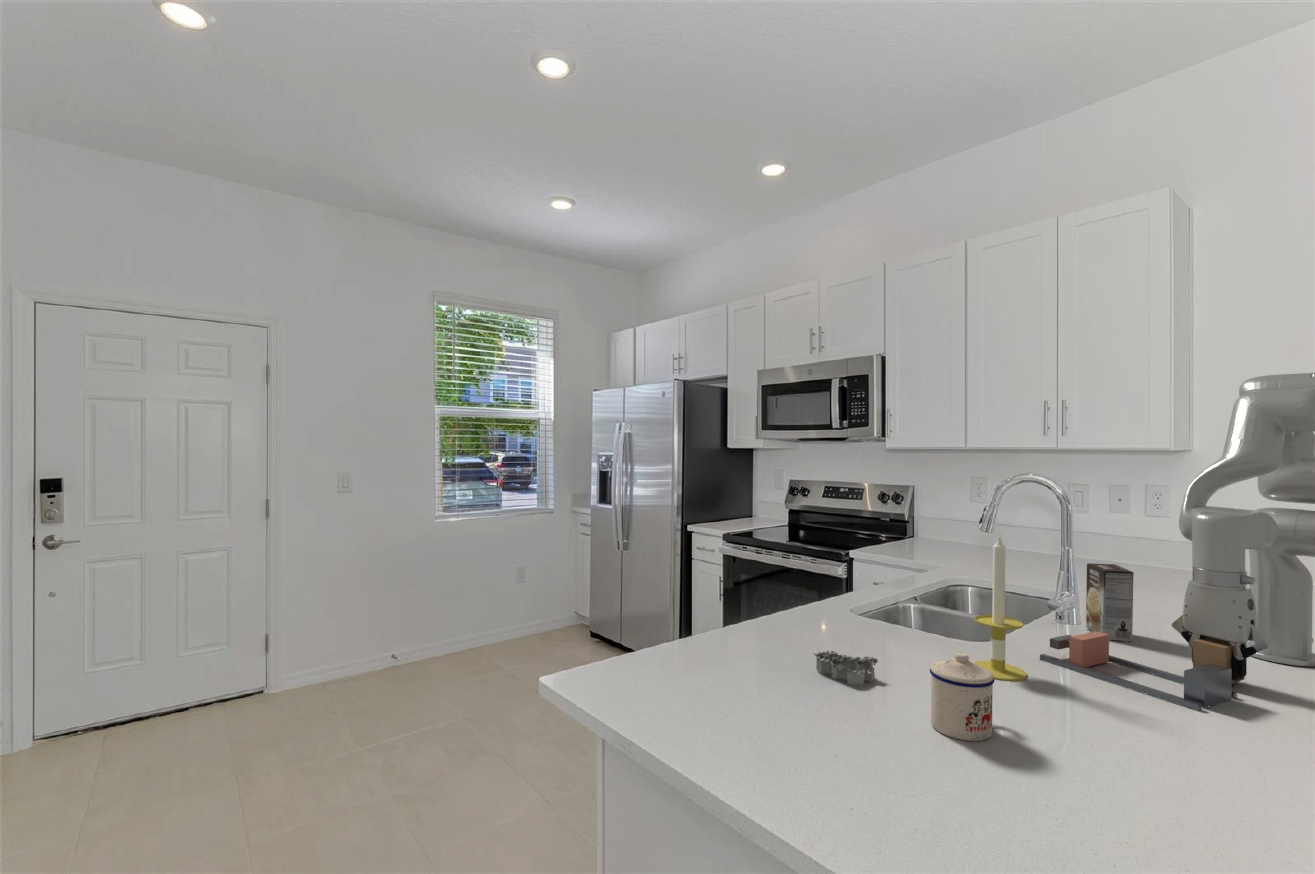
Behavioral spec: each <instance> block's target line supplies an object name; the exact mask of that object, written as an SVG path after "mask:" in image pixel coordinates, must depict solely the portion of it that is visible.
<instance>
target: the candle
mask: <svg viewBox="0 0 1315 874" xmlns="http://www.w3.org/2000/svg"><path fill="white" fill-rule="evenodd" d="M1005 598H1006V545H1004V544H1003V541H1002V537H1001V533H999V534H998V536H997V540H996V542H995V544H994V545H992V603H991V604H992V605H991V606H992V609H991V610H992V613H991V614H980V615H976V616H974V618H973V620H974V621H975V623H977V624H978V625H982V626H985V627H989V628H990V660H977V661H973V662H974V663H975V664H977V665H978V666H981V667H983V668H985V669H987V670H988V671H990V672H991V673H992V675H993V678H994V680H998V681H1006V682H1021V681H1023V680H1026V679H1027V677H1028V674H1027V672H1026V671H1025V670H1024V669H1022V668H1019V667H1018V666H1015V665H1012V664H1010V663H1006V630H1019V629H1022V628H1023V627H1024V623H1023V622H1022V621H1020V620H1018V619H1016V618H1015V619H1014V618H1011V617H1007V616H1005V615H1006V614H1005V613H1006V611H1005V610H1006V609H1005V608H1006V607H1005V606H1006V603H1005V602H1006V599H1005Z"/></svg>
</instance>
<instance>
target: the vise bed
mask: <svg viewBox="0 0 1315 874" xmlns="http://www.w3.org/2000/svg"><path fill="white" fill-rule="evenodd" d="M1039 660H1041V661H1043V660H1044V662H1046V661H1047V662H1046V663H1049V662H1050V663H1049V664H1053V665H1055V666H1058V665H1060V667H1061V666H1062V668H1064V667H1065V668H1064V669H1068V670H1071V671H1074V670H1075V672H1077V673H1080V674H1082V675H1083V674H1084V675H1086V674H1088V675H1087V676H1089V675H1090V676H1089V677H1093V678H1094V679H1095V678H1096V679H1099V680H1101V679H1102V681H1104V682H1105V681H1106V682H1108V683H1111V684H1114V683H1115V684H1114V685H1117V684H1118V685H1117V686H1120V685H1121V686H1120V687H1123V686H1124V687H1123V688H1126V689H1129V688H1131V689H1130V690H1132V689H1134V690H1133V691H1135V690H1137V691H1136V692H1138V691H1140V692H1139V693H1141V692H1143V693H1142V694H1144V693H1147V694H1150V695H1152V696H1151V697H1153V696H1155V697H1154V698H1156V697H1160V698H1162V699H1161V700H1163V699H1165V700H1164V701H1166V700H1167V701H1166V702H1169V703H1172V702H1174V703H1173V704H1175V703H1176V705H1178V704H1180V705H1179V706H1181V705H1182V707H1184V706H1186V707H1185V708H1187V707H1189V708H1188V709H1190V708H1191V710H1193V709H1194V710H1193V711H1196V712H1200V711H1202V710H1203V708H1206V707H1208V706H1212V707H1214V706H1213V705H1215V706H1217V705H1216V704H1218V705H1220V704H1219V703H1221V704H1223V703H1222V702H1224V703H1226V701H1227V702H1229V700H1230V701H1232V700H1236V699H1238V692H1236V691H1235V690H1234V691H1233V690H1232V684H1231V682H1232V669H1231V668H1227V667H1223V666H1219V665H1216V664H1212V663H1210V664H1206V665H1203V666H1199V667H1195V668H1193V667H1191V668H1189V669H1185V670H1183V676H1182V675H1178V674H1176V673H1171V672H1168V671H1164V670H1162V669H1157V668H1155V667H1151V666H1147V665H1144V664H1141V663H1137V662H1134V661H1131V660H1127V659H1123V658H1121V657H1117V656H1113V655H1110V654H1109V662H1108V663H1111V662H1112V664H1115V665H1117V666H1118V665H1119V666H1121V665H1124V666H1123V667H1125V666H1126V667H1125V668H1128V667H1129V668H1128V669H1131V668H1132V669H1131V670H1135V671H1138V670H1140V671H1139V672H1141V671H1143V672H1142V673H1145V672H1146V673H1145V674H1149V675H1151V674H1154V675H1153V676H1155V675H1156V676H1155V677H1158V676H1159V678H1161V677H1162V678H1163V679H1165V680H1168V679H1171V680H1174V681H1173V682H1175V681H1177V682H1176V683H1178V682H1180V683H1179V684H1181V683H1184V684H1183V697H1181V696H1179V695H1175V694H1171V693H1168V692H1165V691H1162V690H1159V689H1155V688H1153V687H1150V686H1147V685H1144V684H1140V683H1137V682H1133V681H1130V680H1127V679H1124V678H1121V677H1117V676H1115V675H1111V674H1110V673H1109V674H1108V673H1105V672H1101V671H1099V670H1097V669H1093V668H1090V667H1084V666H1080V665H1077V664H1074V663H1071V662H1069V661H1067V660H1065V659H1061V658H1057V657H1056V656H1052V655H1048V654H1046V653H1041V654H1039ZM1171 680H1170V681H1171ZM1147 694H1146V695H1147ZM1150 695H1149V696H1150ZM1160 698H1159V699H1160ZM1232 698H1233V699H1232ZM1235 698H1236V699H1235ZM1202 707H1203V708H1202ZM1206 709H1207V708H1206ZM1199 710H1200V711H1199Z"/></svg>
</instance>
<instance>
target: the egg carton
mask: <svg viewBox="0 0 1315 874" xmlns="http://www.w3.org/2000/svg"><path fill="white" fill-rule="evenodd" d="M812 654H813V655H814V656H815V657H816V671H817V673H818V674H820V675H821V674H828V675H831V678H832V679H835V680H845V681H846V684H847V685H850V686H852V685H859V686H863V685H865V681H869V682H874V681H875V674H876V673H875V668H874V666H875V665H877V663H879V662H878V661H879V660H878V658H874V657H872V656H864V657H863V658H862V657H860V656H856V657H853V656H851V655H847V654H838V652H836V651H833V650H831V652H830V651H829V650H826V651H822V652H820V651H819V652H818V653H814V652H813V653H812Z"/></svg>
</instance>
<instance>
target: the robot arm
mask: <svg viewBox="0 0 1315 874" xmlns="http://www.w3.org/2000/svg"><path fill="white" fill-rule="evenodd" d="M1238 391H1239V392H1238V395H1239V396H1238V398H1237V399H1236V400H1235V402H1234V404H1233V407H1232V410H1231V414H1230V420H1229V425H1228V428H1227V432H1226V433H1227V434H1226V438H1225V442H1224V447H1223V451H1222V454H1221V456H1220V459H1218V460H1216V461H1215V462H1214V463H1212V464H1211V465H1209V466H1208V467H1206V468H1205V469H1204V470H1202V471H1201V472H1200V473H1199V474H1197V476H1196V477H1195V478H1194V479H1192V481H1191V482H1190V484H1189V485H1188V486H1187V487H1186V490H1185V493H1184V496H1183V500H1182V503H1181V507H1180V512H1179V518H1178V527H1179V531H1180V534H1181V535H1182V536H1183V538H1185V539H1187V540H1189V541H1190V542H1191V543H1192V544H1191V545H1192V546H1191V547H1192V548H1191V549H1192V550H1191V551H1192V554H1191V557H1192V559H1191V561H1192V563H1191V564H1192V565H1191V569H1192V571H1191V576H1192V579H1191V580H1189V581H1188V582H1187V586H1186V590H1185V593H1184V594H1185V595H1184V599H1183V607H1182V615H1180V616H1179V617H1178V618H1177V619H1175V620H1174V621H1173V622H1171V627H1172V628H1173V629H1175V631H1176V632H1178V634H1180V635H1181V637H1182V638H1183V639H1184V640H1185V641H1186V642H1187V643H1188V646H1189V648H1191V663H1192V664H1193V640H1196V639H1199V638H1202V637H1206V636H1207V637H1211V638H1215V639H1219V640H1224V641H1228V642H1230V644H1231V647H1232V650H1233V653H1234V658H1232V659H1231V669H1232V680H1235V681H1237V680H1240V679H1243V678H1244V677H1245V678H1246V676H1247V671H1248V670H1247V669H1248V667H1247V663H1248V662H1247V659H1248V658H1250V657H1254V658H1257V659H1261V660H1264V661H1269V662H1273V663H1278V664H1284V665H1287V666H1288V665H1289V666H1299V667H1315V653H1313V643H1314V638H1313V594H1314V593H1313V587H1314V581H1313V576H1312V574H1311V572H1310V570H1309V569H1308V567H1306V565H1305V564H1304V563H1303V562H1302V561H1301V560H1300V559H1299V558H1298V557H1297V556H1301V557H1312V558H1315V510H1308V509H1307V510H1306V509H1299V508H1286V507H1285V508H1284V507H1261V508H1257V509H1254V510H1253V509H1243V508H1233V507H1222V506H1210V505H1207V504H1208V502H1209V501H1210V499H1211V498H1212V497H1213V495H1214V494H1215V493H1217V492H1218V491H1220V490H1221V489H1224V488H1226V487H1228V486H1231V485H1234V484H1237V483H1240V482H1243V481H1247V480H1250V479H1254V478H1257V489H1258V493H1259V494H1260V495H1261V496H1262V497H1263V498H1264V499H1267V500H1270V501H1274V502H1282V503H1283V502H1284V503H1295V504H1308V505H1315V372H1306V373H1305V372H1304V373H1303V372H1302V373H1283V374H1280V373H1279V374H1269V375H1262V376H1261V375H1260V376H1255V377H1252V378H1248V379H1246V380H1244V381H1243V382H1242V383H1241V384H1240V386H1239V390H1238ZM1246 550H1248V554H1249V571H1250V572H1249V575H1248V571H1246ZM1248 585H1249V587H1246V586H1248Z"/></svg>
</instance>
